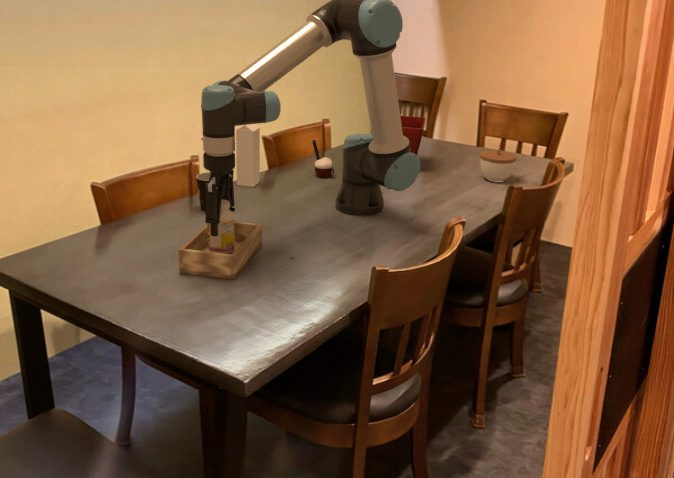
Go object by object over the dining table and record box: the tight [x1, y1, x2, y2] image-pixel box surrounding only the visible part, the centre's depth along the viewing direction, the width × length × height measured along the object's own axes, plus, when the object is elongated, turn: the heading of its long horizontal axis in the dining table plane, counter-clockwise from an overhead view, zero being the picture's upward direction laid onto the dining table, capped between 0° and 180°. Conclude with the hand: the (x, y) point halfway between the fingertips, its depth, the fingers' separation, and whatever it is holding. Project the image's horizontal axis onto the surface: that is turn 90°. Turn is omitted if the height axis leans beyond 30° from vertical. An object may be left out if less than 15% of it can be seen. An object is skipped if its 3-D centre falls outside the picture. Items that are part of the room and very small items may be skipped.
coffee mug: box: [195, 171, 218, 212], centre depth 212 cm, size 12×9×10 cm
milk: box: [235, 124, 261, 188], centre depth 232 cm, size 6×6×22 cm
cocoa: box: [312, 139, 335, 179], centre depth 246 cm, size 10×6×12 cm, turn 32°
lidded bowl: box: [479, 149, 517, 181], centre depth 251 cm, size 13×13×11 cm
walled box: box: [178, 220, 263, 281], centre depth 177 cm, size 14×22×6 cm, turn 169°
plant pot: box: [369, 115, 427, 156], centre depth 262 cm, size 19×19×17 cm
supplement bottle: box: [206, 200, 235, 254], centre depth 174 cm, size 7×7×13 cm
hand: (221, 241), depth 176 cm, fingers closed on supplement bottle, 7 cm apart
